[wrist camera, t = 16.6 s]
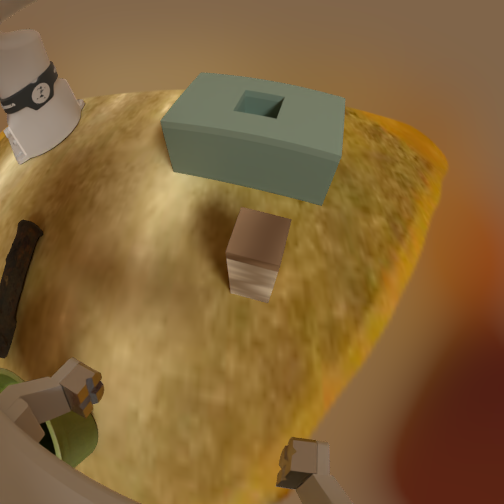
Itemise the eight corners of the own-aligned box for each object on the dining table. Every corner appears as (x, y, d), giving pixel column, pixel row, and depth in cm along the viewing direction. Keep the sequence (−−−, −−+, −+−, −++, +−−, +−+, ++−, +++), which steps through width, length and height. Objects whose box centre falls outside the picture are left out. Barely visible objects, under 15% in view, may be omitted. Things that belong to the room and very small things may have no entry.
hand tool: (31, 230, 32) (14, 214, 28) (47, 232, 32) (30, 216, 28) (-3, 352, 24) (-26, 345, 20) (12, 361, 24) (-11, 356, 20)
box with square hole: (173, 171, 36) (160, 121, 28) (205, 119, 41) (201, 72, 33) (321, 205, 34) (341, 156, 26) (330, 144, 39) (345, 98, 31)
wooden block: (230, 292, 29) (225, 251, 20) (241, 259, 31) (241, 207, 22) (267, 302, 29) (280, 265, 20) (276, 268, 31) (291, 219, 22)
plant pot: (68, 482, 18) (10, 504, 8) (25, 396, 22) (-39, 388, 12) (139, 458, 21) (88, 491, 11) (87, 362, 25) (21, 346, 15)
